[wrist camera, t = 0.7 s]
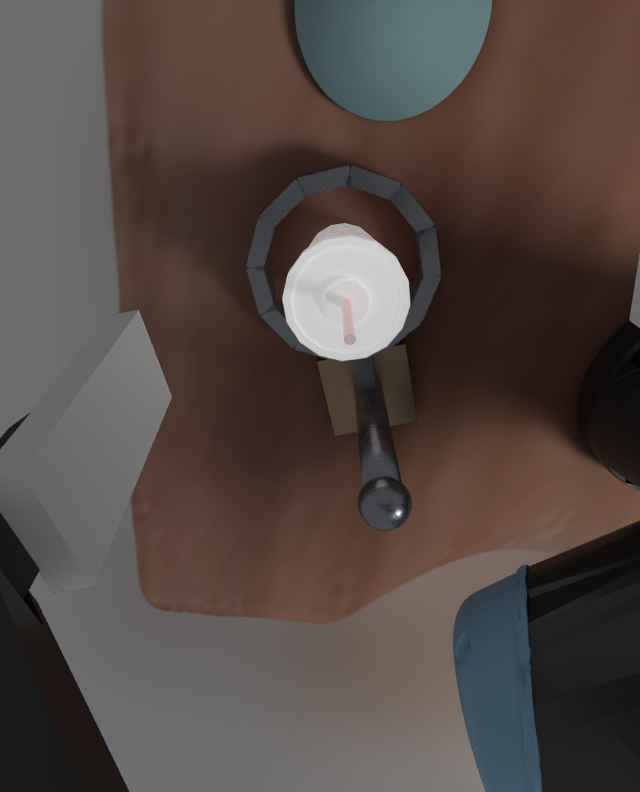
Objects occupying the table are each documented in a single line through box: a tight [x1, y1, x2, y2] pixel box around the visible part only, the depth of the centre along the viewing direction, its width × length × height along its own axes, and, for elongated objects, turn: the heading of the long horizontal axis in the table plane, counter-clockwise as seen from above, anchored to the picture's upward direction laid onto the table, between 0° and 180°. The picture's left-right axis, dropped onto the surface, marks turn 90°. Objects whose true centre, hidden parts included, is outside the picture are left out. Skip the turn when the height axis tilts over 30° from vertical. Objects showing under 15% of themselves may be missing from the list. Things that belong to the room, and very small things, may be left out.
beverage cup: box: [282, 223, 410, 361], centre depth 26 cm, size 6×6×14 cm
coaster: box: [294, 0, 492, 121], centre depth 26 cm, size 10×10×1 cm
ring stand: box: [246, 164, 441, 531], centre depth 27 cm, size 18×11×14 cm, turn 13°
